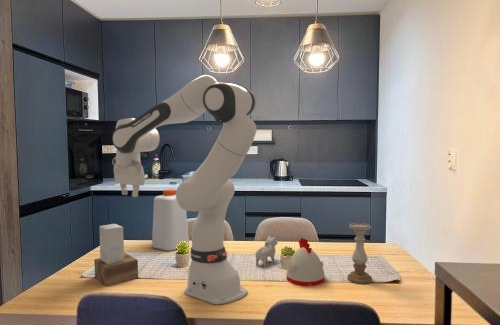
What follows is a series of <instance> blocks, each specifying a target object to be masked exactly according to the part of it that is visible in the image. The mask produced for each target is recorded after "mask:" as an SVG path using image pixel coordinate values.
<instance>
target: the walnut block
mask: <svg viewBox="0 0 500 325" xmlns="http://www.w3.org/2000/svg"><path fill="white" fill-rule="evenodd" d="M93 262H94V263H93V264H94V278H95V279H96V280H98V281H99V282H100V283H101V284H103V285H104V287H110V286H112V285H117V284H121V283H125V282H128V281H133V280H136V279H137V280H138V279H139V265H138V264H139V263H138V259H137V258H135V257H133V256H132V255H129V254H128V253H126V252H124V261H121V262H117V263H113V264H106V263H105V262H103V261H102V260H100V257H99V258H95V259H94V260H93Z"/></svg>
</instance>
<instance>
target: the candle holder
mask: <svg viewBox="0 0 500 325" xmlns="http://www.w3.org/2000/svg"><path fill="white" fill-rule="evenodd" d="M348 226H349V228H350V229H351V230H353V232H354V233H355V235H356V236H355V237H354V241H355V248H354V252H353V254H352V256H351V257H352V258H351V259H352V261H353V265H352V266H353V268H354V270H353V271H351V272H350V273H349V274H347V280H348V281H349V282H350V283H354V284H359V285H367V284H370V283H372V282H373V277H372V275H370V274H369V273H368V272H366V269H367V267H368V266H367V265H366V264H367V262H368V259H369V258H368V255H367V252H366V251H365V250H366V249H365V241H366V238H365V233H366V232H367V231H369V230H371V228H372V226H371V225H370V224H368V223H363V222H362V223H361V222H353V223H350V224H349V225H348Z"/></svg>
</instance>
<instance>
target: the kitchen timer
mask: <svg viewBox="0 0 500 325" xmlns="http://www.w3.org/2000/svg"><path fill="white" fill-rule="evenodd" d="M308 240H309V239H306V238H303V237H300V239H299V240H298V245H299V249H297V250H296V251H295V252H294V253H293V255H292V256H291V257H290V260H287V263H286V264H287V266H286V281H287V282H288V283H290V284H292V285H294V286H295V285H296V286H300V287H301V286H302V287H316V286H319V285H321V284H324V282H325V272H324V268H323V267H324V262H323V260H320V257H319V256H318V254H317V253H316V252H315V251H314V250H313V248H312V247H311V246H310V245H311V244H310V243H308Z"/></svg>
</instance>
